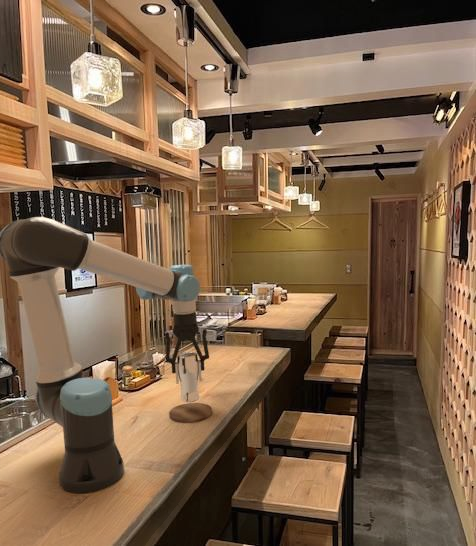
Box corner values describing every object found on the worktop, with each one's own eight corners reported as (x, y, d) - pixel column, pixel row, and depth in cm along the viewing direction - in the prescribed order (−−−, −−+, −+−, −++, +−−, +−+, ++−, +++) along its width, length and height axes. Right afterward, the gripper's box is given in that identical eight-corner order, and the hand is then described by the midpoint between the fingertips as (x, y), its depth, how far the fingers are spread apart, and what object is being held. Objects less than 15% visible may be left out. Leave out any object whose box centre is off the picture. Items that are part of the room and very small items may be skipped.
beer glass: (197, 403, 143) (194, 357, 142) (176, 402, 144) (173, 357, 143) (203, 395, 150) (200, 351, 149) (183, 395, 151) (180, 351, 150)
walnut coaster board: (191, 426, 138) (191, 422, 137) (160, 417, 146) (160, 413, 146) (220, 411, 149) (220, 407, 149) (189, 403, 157) (189, 400, 157)
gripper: (213, 308, 150) (217, 375, 152) (154, 312, 147) (159, 380, 149) (215, 311, 143) (220, 381, 144) (153, 316, 140) (158, 388, 142)
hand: (189, 381), depth 147 cm, fingers closed on beer glass, 7 cm apart
